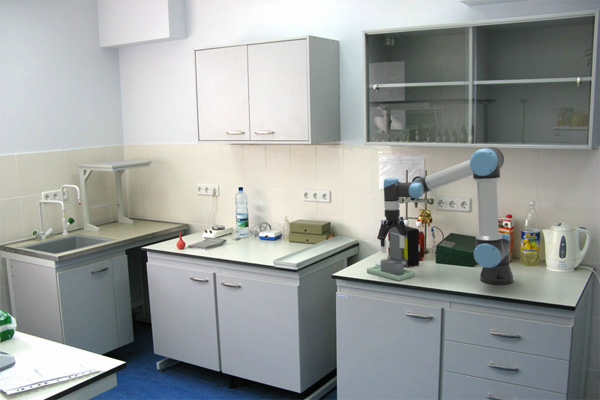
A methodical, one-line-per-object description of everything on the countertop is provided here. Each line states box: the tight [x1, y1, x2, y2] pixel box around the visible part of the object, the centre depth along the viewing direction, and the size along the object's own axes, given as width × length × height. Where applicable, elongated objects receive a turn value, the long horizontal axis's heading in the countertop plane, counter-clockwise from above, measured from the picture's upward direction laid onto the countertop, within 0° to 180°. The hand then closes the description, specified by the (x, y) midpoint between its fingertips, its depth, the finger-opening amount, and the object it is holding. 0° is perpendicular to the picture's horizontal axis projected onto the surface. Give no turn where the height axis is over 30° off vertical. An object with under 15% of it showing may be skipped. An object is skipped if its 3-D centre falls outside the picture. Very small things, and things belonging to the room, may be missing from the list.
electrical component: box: [386, 225, 420, 268], centre depth 309 cm, size 18×10×20 cm, turn 25°
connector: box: [375, 258, 405, 276], centre depth 288 cm, size 17×5×6 cm, turn 39°
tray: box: [366, 265, 416, 282], centre depth 288 cm, size 22×12×2 cm, turn 39°
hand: (393, 250), depth 285 cm, fingers open, 13 cm apart
